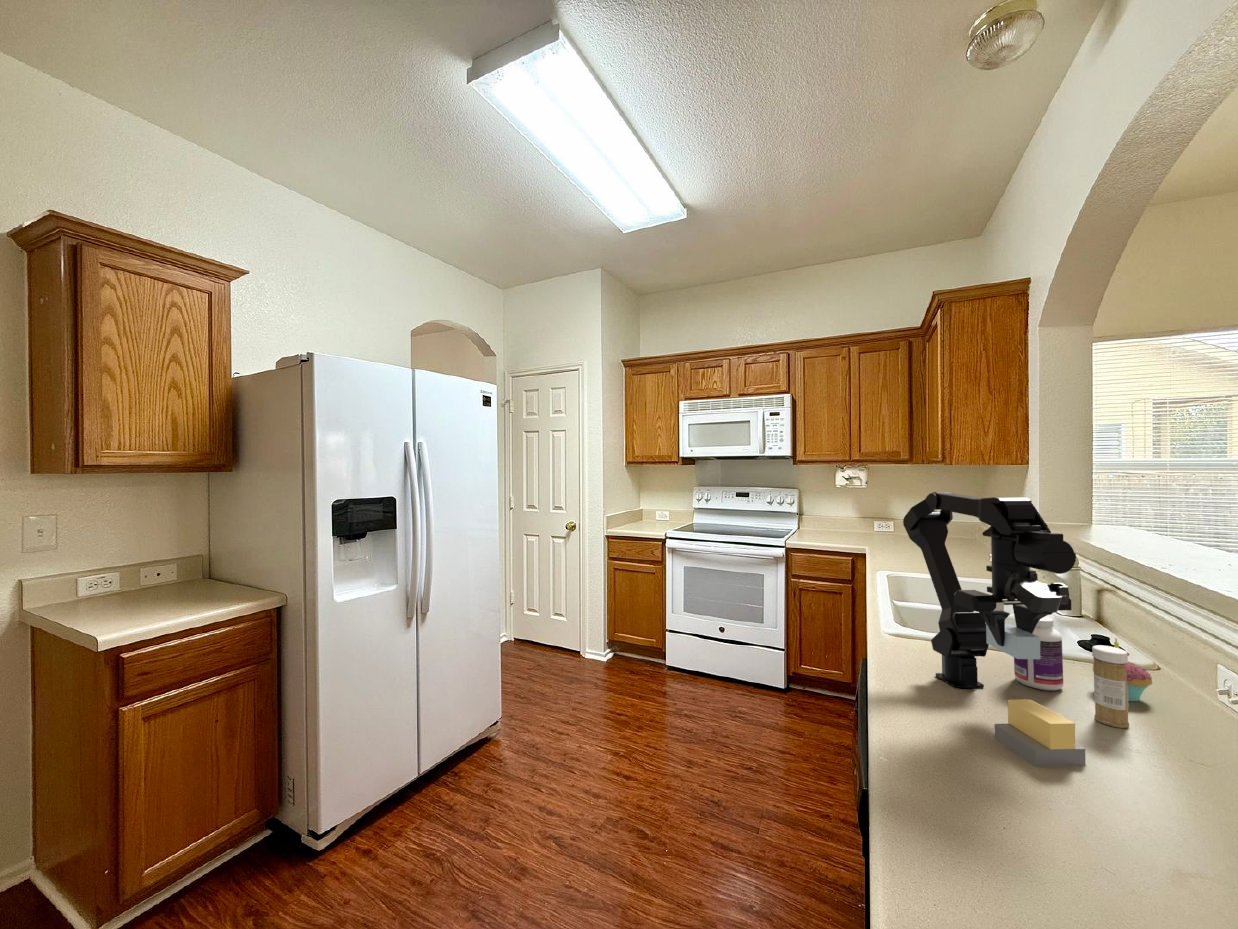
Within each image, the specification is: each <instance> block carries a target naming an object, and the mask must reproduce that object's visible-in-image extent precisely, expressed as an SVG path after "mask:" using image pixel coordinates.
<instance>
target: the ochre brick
mask: <svg viewBox="0 0 1238 929" xmlns="http://www.w3.org/2000/svg"><path fill="white" fill-rule="evenodd" d="M1007 722H1008V723H1009V724H1011V725H1012V726H1014V727H1015V728H1017V729H1019V730H1020V731H1022V732H1023V733H1025V734H1027V735H1028V736H1030V737H1031V738H1033V739H1035V740H1036V741H1038V742H1039V743H1041V744H1043V745H1044V746H1046V747H1047V748H1049V749H1075V743H1076V723H1075V722H1073V721H1071V720H1070V719H1067V717H1064V716H1062V715H1060V714H1058V713H1057V712H1055V711H1053V710H1051V709H1049V708H1047V707H1045V706H1044V705H1042V704H1040V703H1038V702H1036V701H1034V700H1033V699H1030V698H1029V699H1025V698H1023V699H1022V698H1021V699H1007Z"/></svg>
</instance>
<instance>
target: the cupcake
mask: <svg viewBox="0 0 1238 929" xmlns="http://www.w3.org/2000/svg"><path fill="white" fill-rule="evenodd" d="M1114 640H1115V641H1114V642H1113V644H1114V646H1113V647H1115V648H1119V649H1120V643H1119V641H1117V640H1118V639H1117V638H1114ZM1126 669H1127V670H1126V671H1127V690H1128V702H1138V701H1140V699H1141V696H1142V694H1143V692H1144V691H1145V689H1147V688H1148V687H1149V686H1151V685H1153V681H1152V680H1153V677H1152V676H1151V674H1150V673H1149V672H1148V671H1147V670H1146V669H1144V668H1142V667H1141V666H1139V665H1138V664H1136V663H1133V662H1130V661H1128V662H1127V665H1126ZM1092 671H1093V673H1094V663H1093V664H1092Z"/></svg>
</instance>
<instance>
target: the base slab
mask: <svg viewBox="0 0 1238 929" xmlns="http://www.w3.org/2000/svg"><path fill="white" fill-rule="evenodd" d="M994 739H995V740H996V741H998V742H999V743H1001V744H1002V745H1003V746H1005V747H1007V748H1008V749H1009V748H1010V749H1009V750H1011V751H1012V752H1014V753H1016V754H1017V755H1018V754H1019V756H1020V757H1021V758H1023V759H1024V760H1026V761H1027V762H1029V763H1030V764H1031V765H1032V766H1034V767H1038V768H1039V767H1068V766H1069V767H1070V766H1086V748H1084V747H1083V746H1081V745H1079V744H1077V743H1076V742H1075V749H1049V748H1047V747H1046V746H1044V745H1043V744H1041V743H1039V742H1038V741H1036V740H1035V739H1033V738H1031V737H1030V736H1028V735H1027V734H1025V733H1023V732H1022V731H1020V730H1019V729H1017V728H1015V727H1014V726H1012V725H1011V724H1009V723H994Z"/></svg>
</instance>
